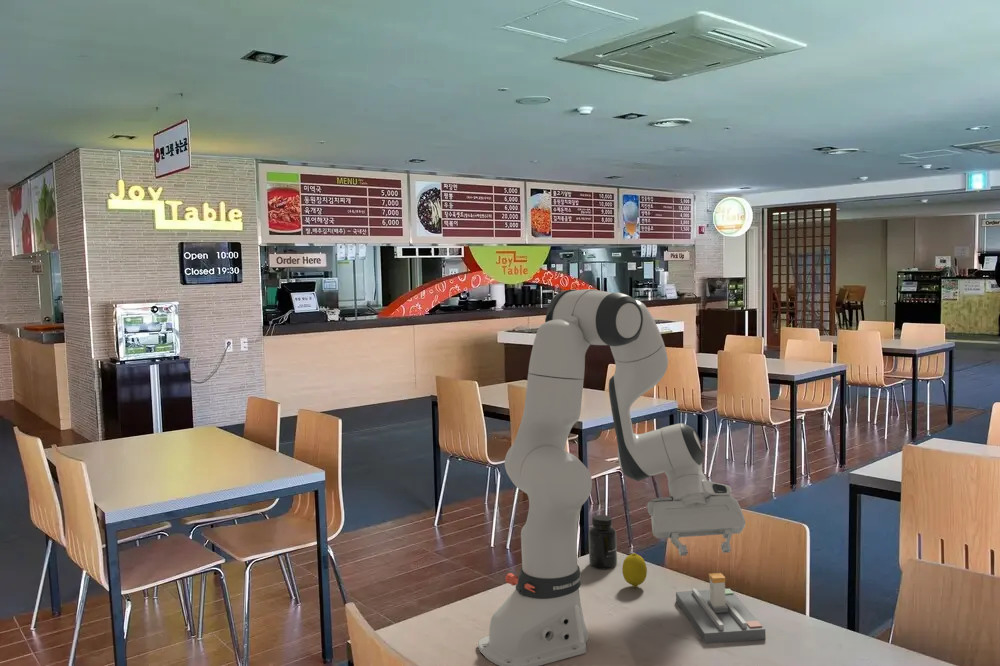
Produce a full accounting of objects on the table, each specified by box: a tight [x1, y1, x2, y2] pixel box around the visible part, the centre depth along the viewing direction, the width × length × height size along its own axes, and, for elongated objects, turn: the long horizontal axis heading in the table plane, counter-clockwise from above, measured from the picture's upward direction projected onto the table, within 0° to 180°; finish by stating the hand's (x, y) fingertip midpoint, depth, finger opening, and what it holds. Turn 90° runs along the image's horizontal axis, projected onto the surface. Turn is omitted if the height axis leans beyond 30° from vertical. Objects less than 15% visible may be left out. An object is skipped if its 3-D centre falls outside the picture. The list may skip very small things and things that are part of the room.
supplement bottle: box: [588, 514, 618, 570], centre depth 195 cm, size 7×7×12 cm
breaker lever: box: [708, 572, 728, 613], centre depth 163 cm, size 4×3×7 cm
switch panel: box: [675, 587, 766, 644], centre depth 163 cm, size 20×12×3 cm, turn 3°
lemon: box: [621, 552, 648, 588], centre depth 181 cm, size 6×6×8 cm
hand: (705, 553), depth 170 cm, fingers open, 8 cm apart
